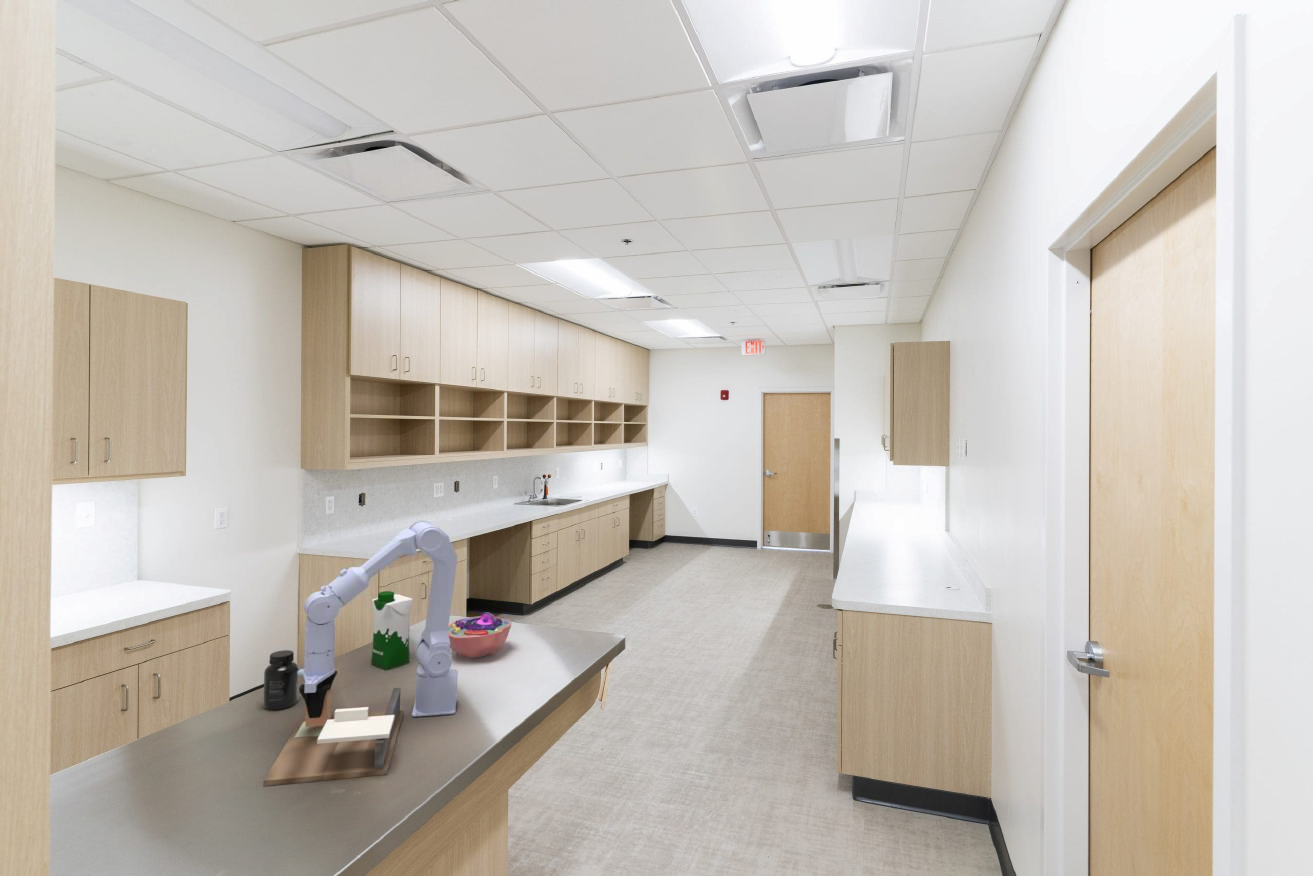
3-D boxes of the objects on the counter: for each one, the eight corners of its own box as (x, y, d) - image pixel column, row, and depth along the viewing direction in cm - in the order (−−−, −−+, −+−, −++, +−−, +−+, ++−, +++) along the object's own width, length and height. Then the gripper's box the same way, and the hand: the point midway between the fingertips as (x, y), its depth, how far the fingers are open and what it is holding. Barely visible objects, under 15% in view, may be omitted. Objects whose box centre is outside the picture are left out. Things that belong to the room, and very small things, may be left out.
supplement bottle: (304, 701, 150) (305, 651, 150) (278, 713, 143) (280, 661, 143) (282, 696, 152) (283, 646, 152) (256, 707, 146) (257, 656, 145)
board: (403, 714, 145) (404, 687, 145) (386, 774, 121) (387, 742, 121) (301, 722, 140) (302, 693, 140) (263, 786, 116) (264, 752, 116)
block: (330, 716, 138) (331, 689, 138) (326, 725, 134) (327, 697, 134) (310, 718, 137) (311, 690, 137) (305, 727, 133) (306, 698, 133)
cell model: (429, 656, 181) (431, 617, 181) (485, 638, 197) (486, 602, 197) (468, 671, 171) (469, 630, 171) (523, 651, 188) (524, 613, 187)
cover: (394, 718, 130) (394, 705, 130) (388, 738, 122) (389, 723, 122) (327, 723, 127) (327, 709, 126) (317, 743, 119) (317, 729, 119)
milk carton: (366, 664, 173) (368, 592, 173) (395, 655, 181) (397, 585, 180) (385, 672, 168) (388, 598, 168) (414, 662, 176) (417, 591, 175)
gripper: (308, 638, 141) (306, 698, 141) (288, 663, 127) (286, 730, 127) (342, 637, 143) (340, 696, 143) (327, 661, 129) (325, 727, 129)
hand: (317, 712), depth 135 cm, fingers closed on block, 4 cm apart
